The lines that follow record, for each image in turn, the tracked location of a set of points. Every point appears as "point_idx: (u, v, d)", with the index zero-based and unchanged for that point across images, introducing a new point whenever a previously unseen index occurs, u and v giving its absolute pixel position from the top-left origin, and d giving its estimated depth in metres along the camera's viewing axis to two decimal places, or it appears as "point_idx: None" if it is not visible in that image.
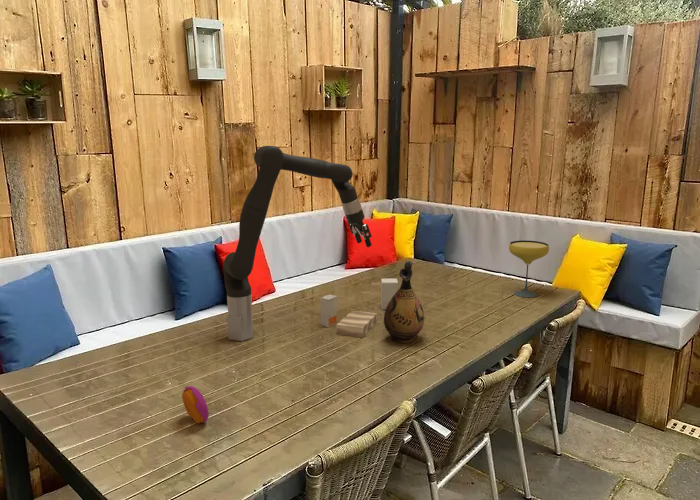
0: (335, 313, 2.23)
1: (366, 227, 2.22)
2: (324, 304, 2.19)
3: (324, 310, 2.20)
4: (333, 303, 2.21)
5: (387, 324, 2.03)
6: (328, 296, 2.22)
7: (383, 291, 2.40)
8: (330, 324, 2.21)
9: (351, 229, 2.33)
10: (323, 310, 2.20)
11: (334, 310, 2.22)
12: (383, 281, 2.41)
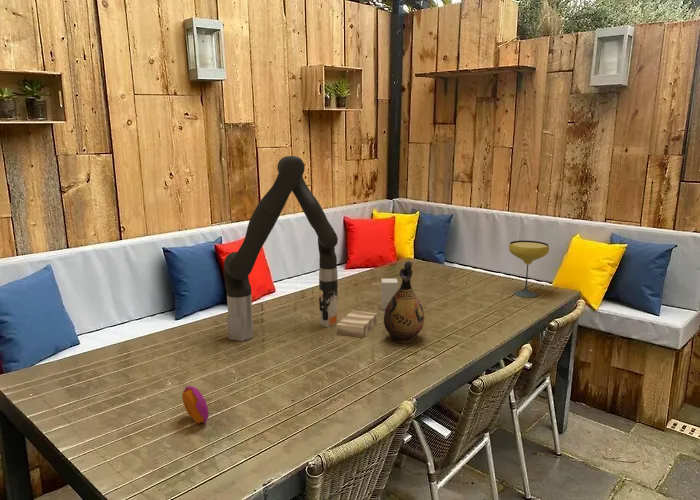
0: (335, 313, 2.23)
1: (322, 300, 2.15)
2: None
3: None
4: (333, 303, 2.21)
5: (387, 324, 2.03)
6: None
7: (383, 291, 2.40)
8: (330, 324, 2.21)
9: None
10: None
11: (334, 310, 2.22)
12: (383, 281, 2.41)
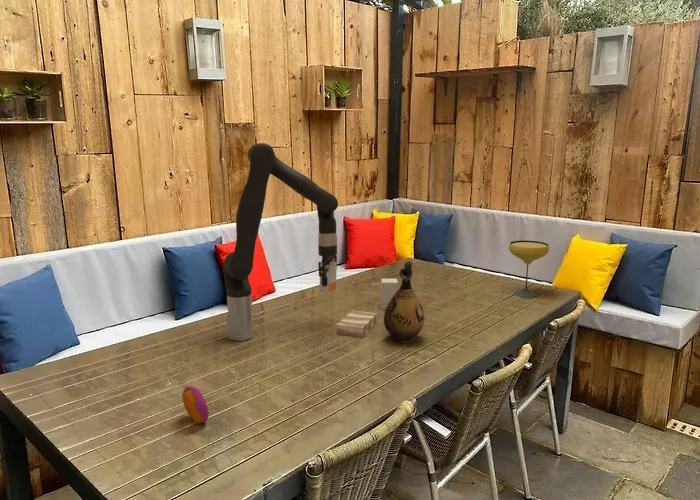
0: (334, 280, 2.20)
1: (321, 265, 2.12)
2: None
3: None
4: (332, 269, 2.18)
5: (387, 324, 2.03)
6: None
7: (383, 291, 2.40)
8: (329, 290, 2.18)
9: None
10: None
11: (333, 277, 2.19)
12: (383, 281, 2.41)
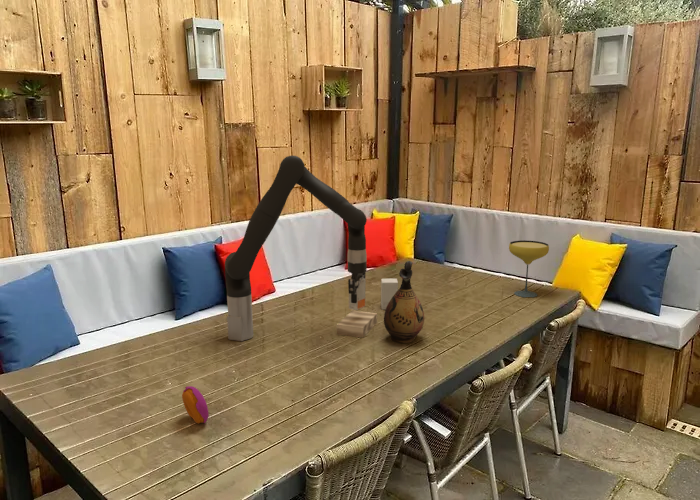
0: (363, 296, 2.17)
1: (351, 282, 2.09)
2: None
3: None
4: (362, 286, 2.15)
5: (387, 324, 2.03)
6: None
7: (383, 291, 2.40)
8: (359, 307, 2.15)
9: None
10: None
11: (363, 293, 2.16)
12: (383, 281, 2.41)
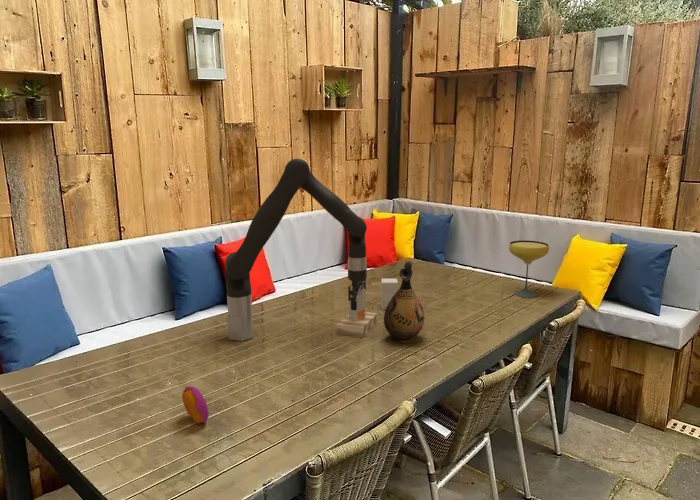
0: (363, 307, 2.18)
1: (352, 289, 2.09)
2: None
3: None
4: (361, 297, 2.16)
5: (387, 324, 2.03)
6: None
7: (383, 291, 2.40)
8: (358, 318, 2.16)
9: None
10: None
11: (362, 304, 2.17)
12: (383, 281, 2.41)
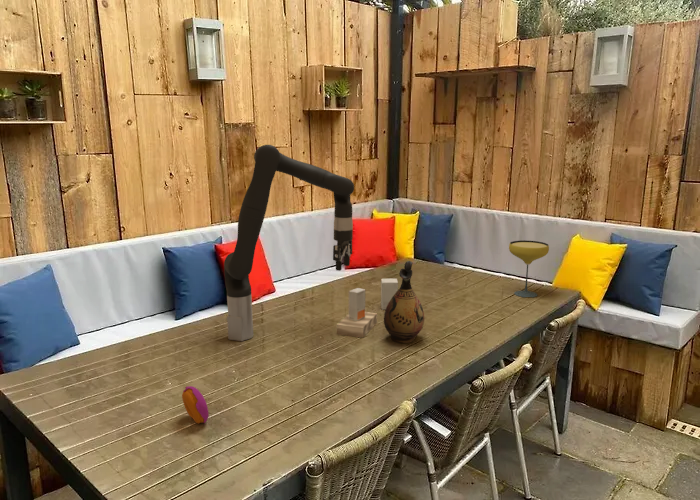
0: (363, 307, 2.18)
1: (336, 248, 2.09)
2: (353, 297, 2.14)
3: (352, 304, 2.15)
4: (361, 297, 2.16)
5: (387, 324, 2.03)
6: (356, 289, 2.17)
7: (383, 291, 2.40)
8: (358, 318, 2.16)
9: None
10: (351, 304, 2.15)
11: (362, 304, 2.17)
12: (383, 281, 2.41)
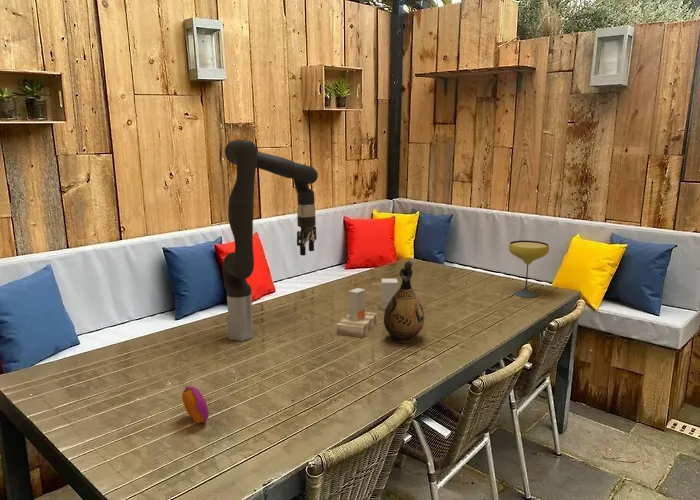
0: (363, 307, 2.18)
1: (300, 234, 2.19)
2: (353, 297, 2.14)
3: (352, 304, 2.15)
4: (361, 297, 2.16)
5: (387, 324, 2.03)
6: (356, 289, 2.17)
7: (383, 291, 2.40)
8: (358, 318, 2.16)
9: None
10: (351, 304, 2.15)
11: (362, 304, 2.17)
12: (383, 281, 2.41)
